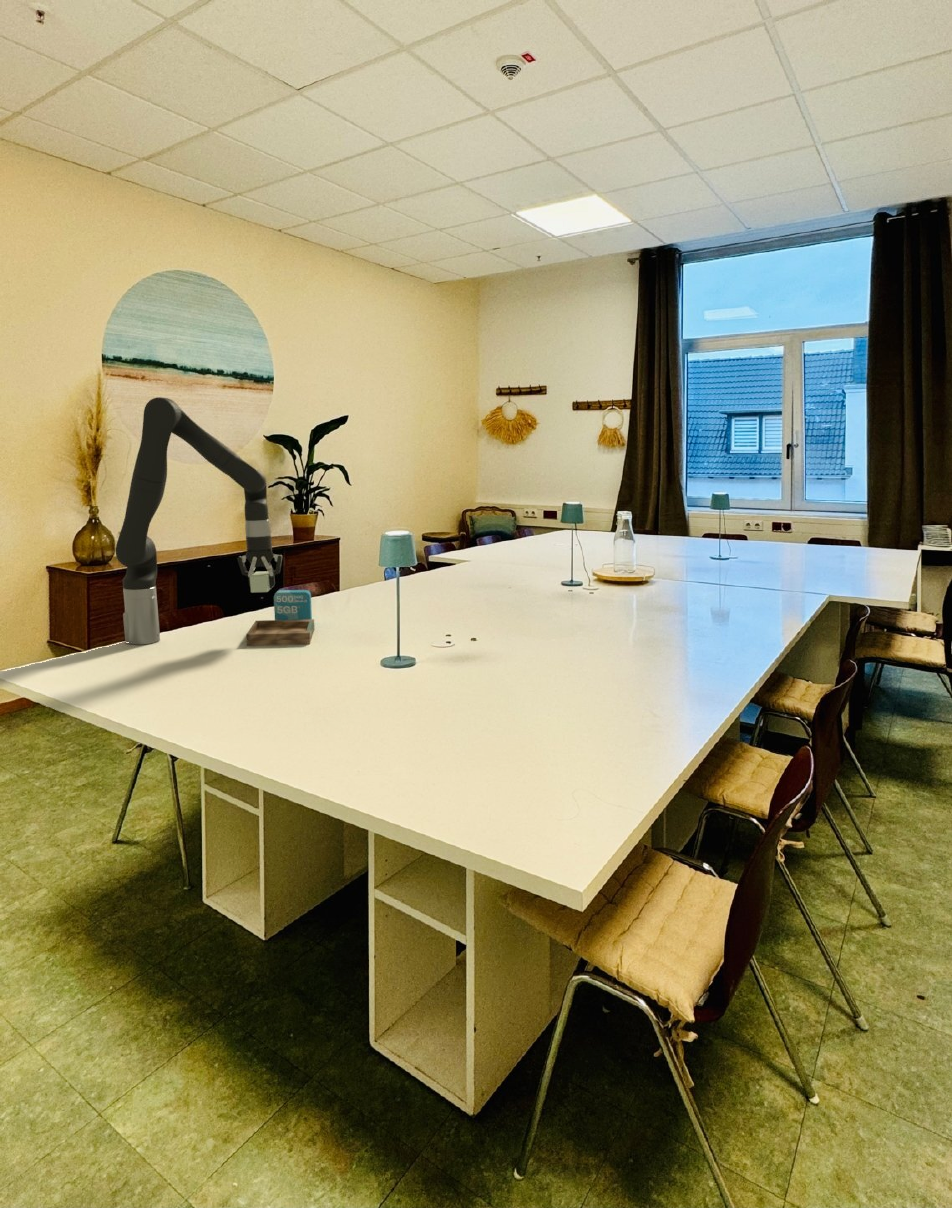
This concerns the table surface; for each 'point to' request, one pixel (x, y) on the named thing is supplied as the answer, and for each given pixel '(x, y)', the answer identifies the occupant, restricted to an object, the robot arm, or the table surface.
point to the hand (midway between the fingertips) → (262, 587)
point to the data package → (292, 605)
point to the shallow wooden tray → (280, 632)
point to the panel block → (260, 582)
